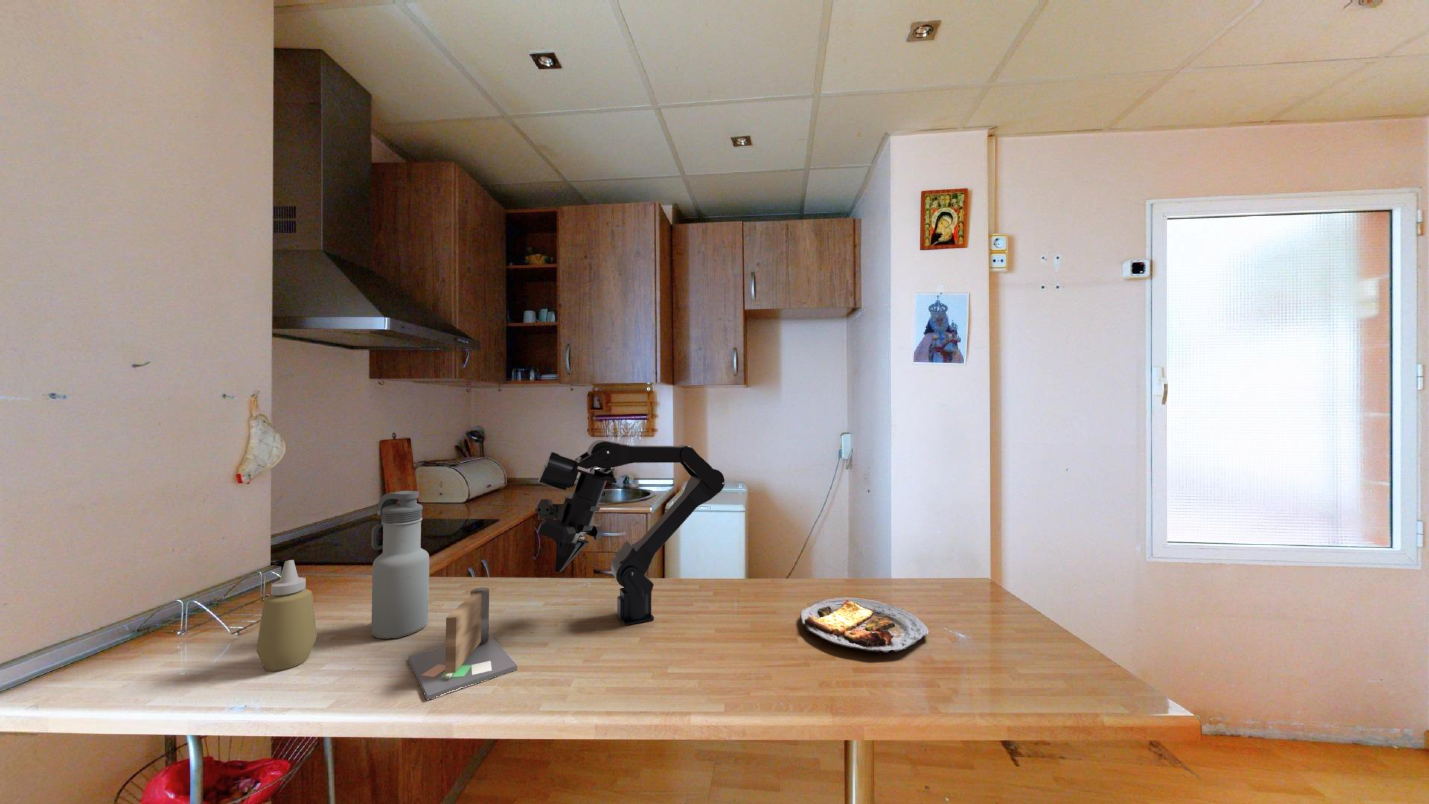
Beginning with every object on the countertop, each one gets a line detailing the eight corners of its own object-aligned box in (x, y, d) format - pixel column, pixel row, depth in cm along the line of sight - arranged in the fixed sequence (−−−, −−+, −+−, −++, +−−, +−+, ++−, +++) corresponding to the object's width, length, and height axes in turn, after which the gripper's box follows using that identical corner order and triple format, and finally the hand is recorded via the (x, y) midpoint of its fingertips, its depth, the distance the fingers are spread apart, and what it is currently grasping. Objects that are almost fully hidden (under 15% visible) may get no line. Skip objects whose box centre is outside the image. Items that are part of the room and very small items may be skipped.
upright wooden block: (474, 636, 92) (474, 587, 92) (491, 636, 93) (491, 587, 93) (437, 678, 78) (438, 620, 78) (457, 678, 78) (458, 619, 78)
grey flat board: (408, 660, 86) (408, 655, 86) (488, 637, 95) (488, 632, 95) (427, 701, 74) (427, 695, 74) (517, 670, 83) (517, 664, 83)
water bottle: (358, 634, 96) (361, 494, 96) (406, 615, 105) (408, 487, 105) (392, 644, 92) (395, 497, 92) (439, 623, 101) (441, 490, 101)
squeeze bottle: (247, 680, 79) (249, 571, 80) (265, 658, 86) (267, 557, 87) (309, 668, 83) (311, 564, 83) (321, 648, 90) (324, 552, 91)
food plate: (881, 674, 82) (881, 652, 82) (777, 629, 99) (777, 611, 99) (944, 633, 98) (944, 616, 98) (846, 601, 116) (846, 586, 116)
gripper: (571, 488, 111) (546, 554, 108) (529, 482, 93) (497, 561, 90) (614, 503, 109) (589, 572, 106) (579, 500, 91) (548, 582, 88)
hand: (557, 571), depth 98 cm, fingers closed
